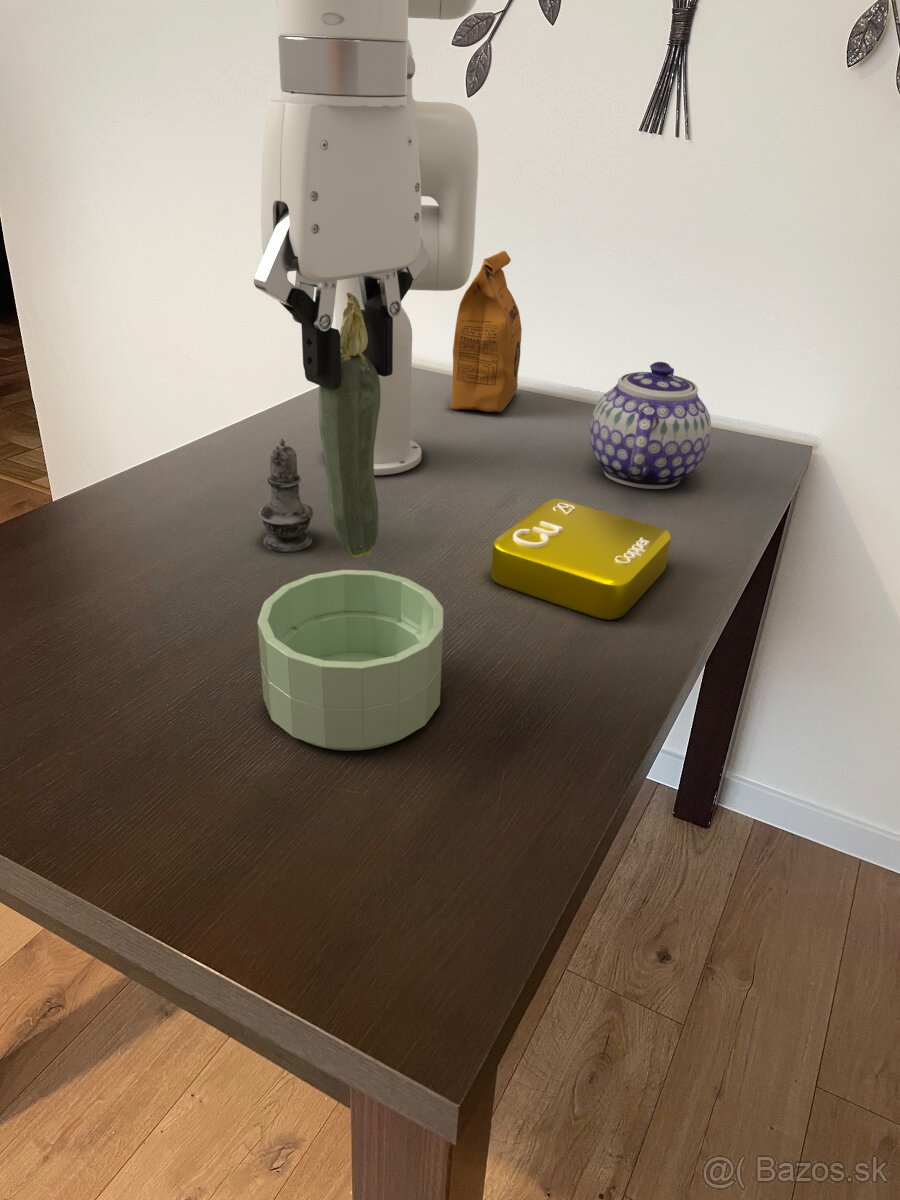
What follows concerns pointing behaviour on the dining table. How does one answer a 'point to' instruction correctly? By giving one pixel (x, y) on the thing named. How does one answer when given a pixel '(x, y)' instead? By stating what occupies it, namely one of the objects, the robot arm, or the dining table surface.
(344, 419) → the vegetable
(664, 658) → the dining table surface
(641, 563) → the element tile
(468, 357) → the coffee package
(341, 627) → the bowl
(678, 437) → the teapot
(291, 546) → the salt shaker
